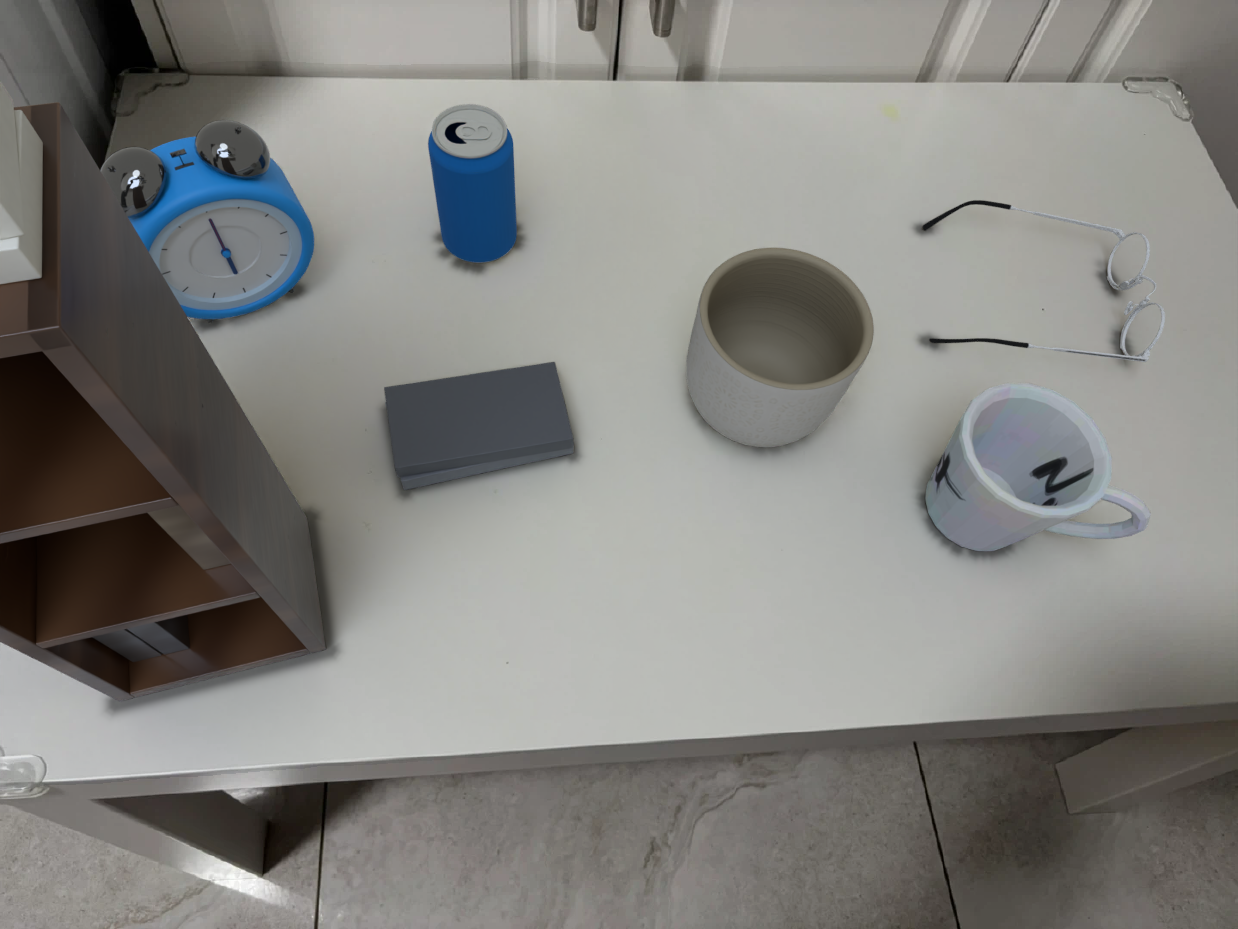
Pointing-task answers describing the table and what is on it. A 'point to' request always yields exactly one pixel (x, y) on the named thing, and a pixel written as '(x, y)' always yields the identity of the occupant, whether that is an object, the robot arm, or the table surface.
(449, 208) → the beverage can
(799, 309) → the planter
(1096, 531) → the mug
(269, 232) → the alarm clock
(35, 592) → the bookcase
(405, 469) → the grey book pile
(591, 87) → the table surface
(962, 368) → the table surface
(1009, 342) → the eyeglasses
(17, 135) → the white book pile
